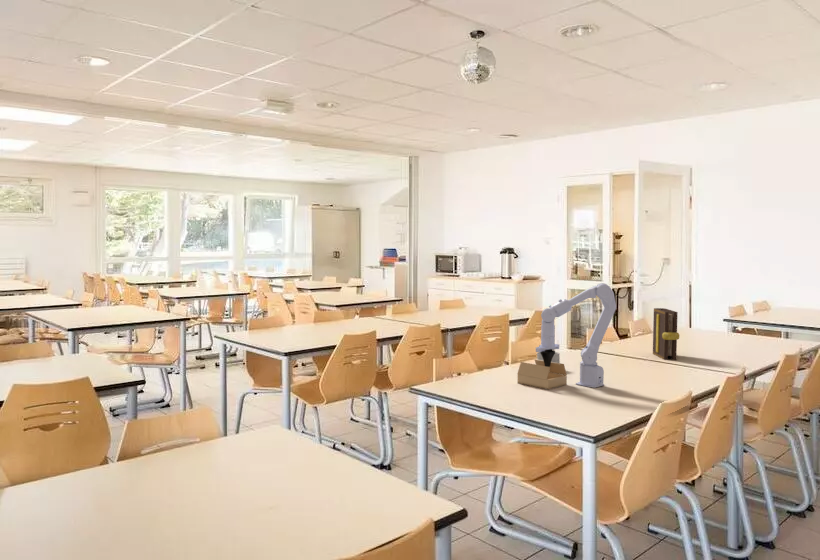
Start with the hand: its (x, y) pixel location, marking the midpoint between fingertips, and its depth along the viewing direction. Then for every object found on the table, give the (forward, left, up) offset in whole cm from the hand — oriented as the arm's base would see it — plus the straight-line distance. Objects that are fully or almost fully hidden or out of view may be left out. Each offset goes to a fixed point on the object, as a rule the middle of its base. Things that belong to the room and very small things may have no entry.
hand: (547, 366), depth 275 cm
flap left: (0, +10, -1) cm, 9 cm away
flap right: (0, -2, 0) cm, 2 cm away
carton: (0, +4, -7) cm, 8 cm away
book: (-4, -98, -7) cm, 99 cm away
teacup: (+18, -26, -7) cm, 33 cm away
